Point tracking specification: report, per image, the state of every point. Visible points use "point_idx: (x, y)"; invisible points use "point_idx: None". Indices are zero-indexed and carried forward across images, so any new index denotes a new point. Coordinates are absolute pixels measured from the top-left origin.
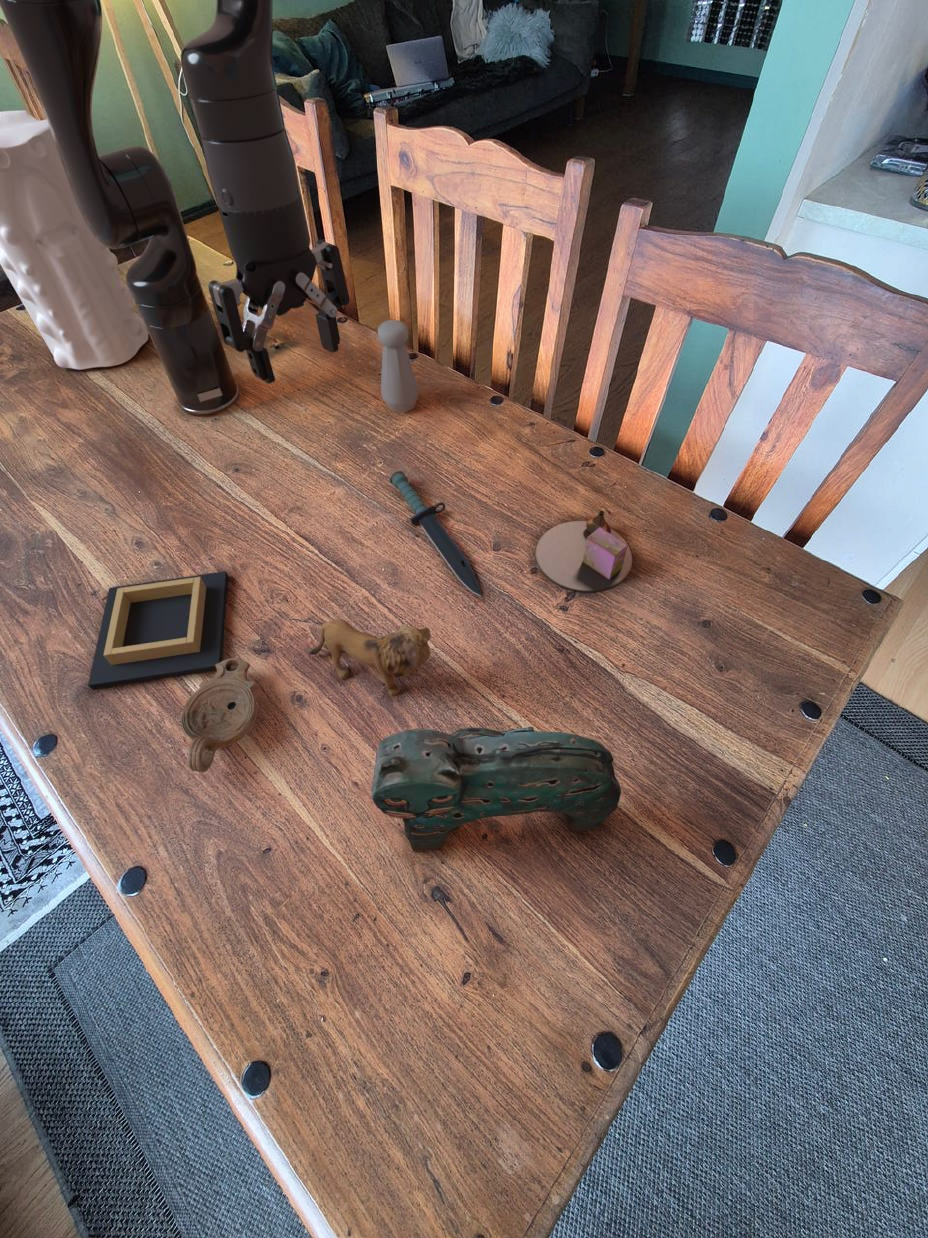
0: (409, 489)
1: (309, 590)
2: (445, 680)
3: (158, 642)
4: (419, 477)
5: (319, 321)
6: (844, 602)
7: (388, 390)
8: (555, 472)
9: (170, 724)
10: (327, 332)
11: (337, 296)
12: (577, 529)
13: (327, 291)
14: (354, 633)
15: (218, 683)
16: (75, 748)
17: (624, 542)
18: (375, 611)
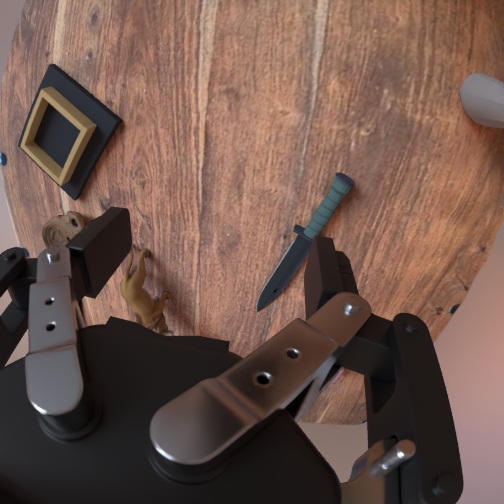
0: (330, 207)
1: (163, 195)
2: (185, 318)
3: (44, 166)
4: (367, 189)
5: (316, 292)
6: (357, 418)
7: (472, 96)
8: (423, 296)
9: (46, 203)
10: (308, 299)
11: (369, 379)
12: None
13: (391, 347)
14: (134, 304)
15: (64, 226)
16: (11, 174)
17: (335, 382)
18: (189, 255)
